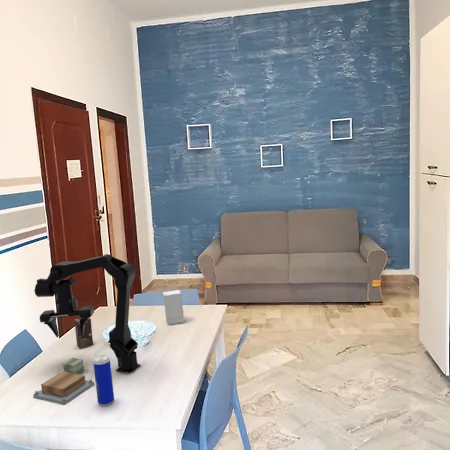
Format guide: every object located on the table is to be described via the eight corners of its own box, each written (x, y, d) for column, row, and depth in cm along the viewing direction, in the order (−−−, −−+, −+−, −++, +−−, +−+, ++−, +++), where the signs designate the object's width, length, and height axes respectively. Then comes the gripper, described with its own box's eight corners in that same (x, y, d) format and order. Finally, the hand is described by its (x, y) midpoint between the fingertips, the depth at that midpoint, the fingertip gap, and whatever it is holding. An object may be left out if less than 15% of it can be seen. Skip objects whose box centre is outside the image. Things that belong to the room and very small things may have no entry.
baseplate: (94, 384, 161) (93, 379, 160) (64, 404, 148) (63, 399, 148) (64, 378, 167) (63, 373, 167) (33, 397, 155) (32, 392, 154)
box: (79, 349, 193) (76, 321, 191) (76, 346, 196) (73, 319, 195) (94, 345, 196) (91, 318, 194) (90, 342, 200) (87, 315, 198)
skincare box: (182, 319, 221) (180, 289, 219) (184, 323, 215) (182, 292, 213) (165, 321, 219) (162, 291, 217) (166, 325, 213) (163, 294, 211)
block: (84, 372, 171) (83, 359, 170) (74, 378, 167) (73, 365, 166) (74, 370, 173) (72, 357, 173) (64, 376, 169) (62, 363, 168)
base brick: (85, 383, 160) (84, 375, 159) (64, 397, 151) (63, 389, 150) (64, 379, 164) (63, 371, 164) (42, 392, 155) (41, 384, 155)
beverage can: (99, 398, 151) (94, 355, 149) (115, 397, 151) (110, 353, 149) (96, 407, 146) (91, 362, 143) (113, 405, 146) (108, 360, 144)
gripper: (94, 287, 180) (99, 325, 182) (46, 292, 179) (51, 330, 182) (87, 295, 169) (93, 336, 171) (36, 301, 168) (42, 341, 171)
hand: (70, 335), depth 174 cm, fingers open, 9 cm apart
